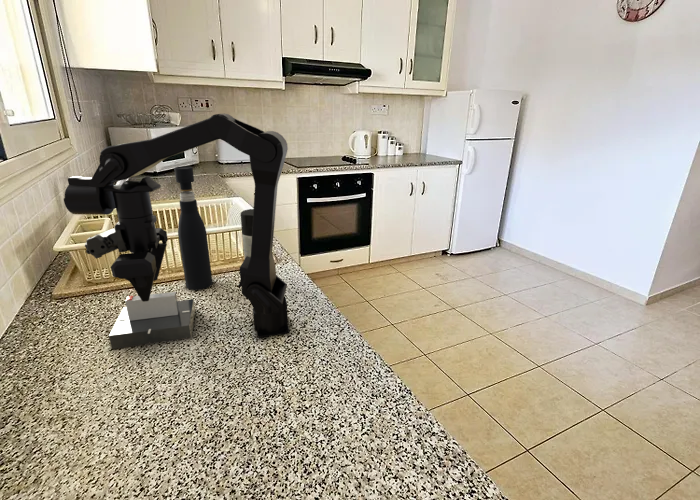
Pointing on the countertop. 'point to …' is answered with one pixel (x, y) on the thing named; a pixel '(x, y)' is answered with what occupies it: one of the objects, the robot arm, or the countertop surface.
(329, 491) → the countertop surface
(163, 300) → the knob
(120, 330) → the block
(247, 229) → the spray can
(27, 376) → the countertop surface
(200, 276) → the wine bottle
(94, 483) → the countertop surface
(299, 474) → the countertop surface
